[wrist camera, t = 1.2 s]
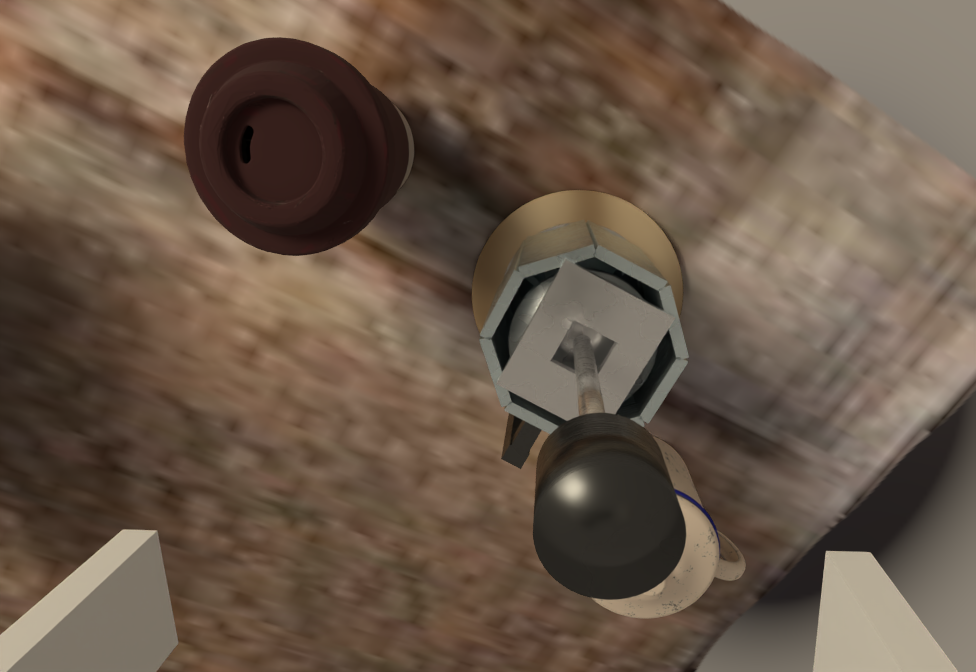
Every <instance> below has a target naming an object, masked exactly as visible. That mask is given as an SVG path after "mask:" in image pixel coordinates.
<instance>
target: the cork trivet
mask: <svg viewBox="0 0 976 672" xmlns="http://www.w3.org/2000/svg"><path fill="white" fill-rule="evenodd" d="M581 220H585V222H587V221H588V220H589V221H591V222H593V223H595V224H597V225H601V226H604V227H606V228H609V229H611V230H613V231H615V232H616V233H618V234H620V235H621V236H623V237H624V238H625V239H626V240H628V241H629V242H630V243H632V244H634V245H636V246H638V247H640V248H641V249H642V251H643V252H644V253H645V254H646V255H647V257H648V258H649V259H650V260H651V262H652V263H653V264H654V265H655V267H656V268H657V269H658V270H659V272H660V273H661V274H662V275H663V276H664V278H665V279H666V280H667V281H668V283H669V284H670V285H671V289H672V293H673V297H674V301H675V304H676V308H677V312H678V316H679V318H680V314H681V310H682V302H683V280H682V274H681V269H680V265H679V262H678V259H677V256H676V253H675V251H674V249H673V247H672V245H671V243H670V241H669V240H668V238H667V237H666V235H665V234H664V232H663V231H662V230H661V229H660V227H659V226H658V225H657V224H656V223H655V222H654V221H653V220H652V219H651V218H650V217H649V216H648V215H646V214H645V213H644V212H643V211H642V210H640V209H639V208H637V207H635V206H634V205H632V204H631V203H629V202H627V201H625V200H623V199H621V198H618V197H616V196H613V195H609V194H606V193H602V192H597V191H591V190H568V191H560V192H556V193H551V194H547V195H545V196H542V197H539V198H536V199H534V200H532V201H530V202H528V203H526V204H525V205H523V206H521V207H520V208H518V209H517V210H516V211H514V212H513V213H511V214H510V215H509V216H508V217H507V218H506V219H505V220H504V221H503V222H501V223H500V225H499V226H498V227H497V228H496V230H495V231H494V232H493V233H492V234H491V236H490V238H489V239H488V241H487V242H486V244H485V246H484V247H483V250H482V252H481V254H480V256H479V258H478V261H477V265H476V268H475V271H474V277H473V283H472V305H473V313H474V317H475V321H476V325H477V327H478V330H479V333H481V330H482V327H483V325H484V322H485V320H486V317H487V315H488V312H489V309H490V307H491V304H492V302H493V299H494V296H495V294H496V291H497V289H498V287H499V285H500V283H501V282H502V280H503V278H504V275H505V272H506V269H507V267H508V265H509V263H510V261H511V259H512V258H513V256H514V255H515V253H516V252H517V251H518V250H519V248H520V246H521V244H522V242H523V240H526V238H527V237H529V236H532V235H535V234H537V233H539V232H541V231H542V230H544V229H547V228H549V227H552V226H554V225H558V224H563V223H569V222H578V221H581Z"/></svg>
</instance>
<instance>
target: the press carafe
mask: <svg viewBox="0 0 976 672" xmlns="http://www.w3.org/2000/svg"><path fill="white" fill-rule="evenodd" d="M586 268H591V269H597V270H602V271H605V272H609V273H611V274H614V275H616V276H618V277H620V278H621V279H623V280H625V281H626V282H628V283H629V284H630V285H631V286H632V287H634V288H635V289H636V290H637V292H638V293H639V294H640V295H641V296H642V298H643V299H642V298H640V297H638V296H636V295H634V294H633V293H631V292H629V291H627V290H625V289H623V288H621V287H619V286H617V285H616V284H614V283H612V282H610V281H608V280H606V279H604V278H602V277H601V276H599V275H597V274H595V273H593V272H591V271H589V270H587V269H586ZM555 273H557V274H556V276H555V277H554V279H553V281H552V283H551V285H550V286H549V288H548V290H547V292H546V293H545V295H544V297H543V299H542V301H541V302H540V304H539V306H538V308H537V310H536V311H535V313H534V315H533V317H532V319H531V320H530V322H529V324H528V326H527V328H526V329H525V331H524V333H523V335H522V337H521V338H520V340H519V342H518V344H517V346H516V347H515V349H514V351H513V353H512V355H511V356H510V354H509V332H510V326H511V322H512V319H513V316H514V313H515V311H516V309H517V307H518V305H519V303H520V302H521V300H522V299H523V297H524V296H525V295H526V294H527V293H528V291H529V290H530V289H532V288H533V287H534V286H535V285H536V284H537V283H539V282H540V281H542V280H543V279H545V278H547V277H549V276H551V275H553V274H555ZM574 320H575V321H577V322H579V323H580V324H582V325H584V326H586V327H588V328H590V329H592V330H594V331H596V332H598V333H599V334H601V335H603V336H605V337H607V338H609V339H611V340H613V341H615V342H614V344H613V345H612V347H611V349H610V350H609V352H608V354H607V355H606V357H605V359H604V360H603V362H602V364H601V365H600V367H599V369H598V370H597V371H598V377H599V382H600V387H601V393H602V398H603V403H604V409H605V413H611V414H617V415H620V416H623V417H626V418H629V419H631V420H633V421H635V422H636V423H638V424H640V425H641V426H642V427H644V422H646V423H648V424H649V422H650V421H651V419H652V417H653V416H654V414H655V413H656V411H657V410H658V408H659V407H660V405H661V404H662V402H663V400H664V399H665V397H666V396H667V394H668V393H669V391H670V390H671V388H672V387H673V385H674V383H675V382H676V380H677V379H678V377H679V376H680V374H681V373H682V371H683V370H684V368H685V366H686V365H687V363H688V361H687V359H686V358H689V355H688V351H687V347H686V343H685V339H684V336H683V332H682V328H681V324H680V320H679V316H678V312H677V308H676V304H675V301H674V297H673V293H672V289H671V285H670V284H669V283H668V281H667V280H666V279H665V278H664V276H663V275H662V274H661V273H660V272H659V270H658V269H657V268H656V267H655V265H654V264H653V263H652V262H651V260H650V259H649V258H648V257H647V255H646V254H645V253H644V252H643V251H642V249H641V248H640V247H638V246H636V245H634V244H632V243H630V242H629V241H628V240H626V239H625V238H624V237H623V236H621V235H620V234H618V233H616V232H615V231H613V230H611V229H609V228H606V227H604V226H601V225H597V224H595V223H593V222H591V221H589V220H588V221H587V222H585V220H581V221H578V222H569V223H563V224H558V225H554V226H552V227H549V228H547V229H544V230H542V231H541V232H539V233H537V234H535V235H532V236H529V237H527V238H526V240H523V242H522V244H521V246H520V248H519V250H518V251H517V252H516V253H515V255H514V256H513V258H512V259H511V261H510V263H509V265H508V267H507V269H506V272H505V275H504V278H503V280H502V282H501V283H500V285H499V287H498V289H497V291H496V294H495V296H494V299H493V302H492V304H491V307H490V309H489V312H488V315H487V317H486V320H485V322H484V325H483V327H482V330H481V333H480V339H479V341H480V344H481V347H482V350H483V353H484V356H485V359H486V362H487V365H488V368H489V371H490V374H491V377H492V380H493V383H494V386H495V389H496V392H497V395H498V398H499V401H500V404H501V407H504V406H505V410H504V411H506V412H508V413H509V416H508V422H507V428H506V434H505V440H504V446H503V452H502V458H501V459H503V460H504V461H506V462H508V463H510V464H512V465H514V466H516V467H518V468H520V469H521V467H522V466H523V464H524V462H525V461H526V459H527V457H528V456H529V452H530V449H531V447H532V445H533V444H534V442H535V440H536V439H537V437H538V435H539V434H540V432H541V430H543V431H545V432H547V433H549V434H551V433H552V432H553V431H554V430H555V429H556V428H558V427H559V426H560V425H562V424H563V423H565V422H566V421H568V420H570V419H572V418H575V417H578V416H579V410H578V399H577V388H576V377H575V370H573V369H572V368H570V367H568V366H566V365H564V364H562V363H560V362H558V361H556V360H554V359H552V357H553V356H554V354H555V352H556V350H557V349H558V347H559V345H560V344H561V342H562V340H563V338H564V337H565V335H566V333H567V331H568V330H569V328H570V326H571V324H572V323H573V321H574ZM656 348H657V354H656V358H655V362H654V365H653V367H652V370H651V372H650V374H649V375H648V377H647V379H646V380H645V382H644V383H643V384H642V386H641V387H640V388H639V389H638V390H637V391H636V392H635V393H634V394H633V395H631V396H630V397H629V398H628V399H626V400H625V401H624V399H625V398H626V396H627V395H628V393H629V391H630V390H631V388H632V387H633V385H634V383H635V382H636V380H637V379H638V377H639V375H640V374H641V372H642V371H643V369H644V367H645V366H646V364H647V363H648V361H649V359H650V358H651V356H652V355H653V353H654V351H655V350H656ZM643 421H644V422H643Z"/></svg>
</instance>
